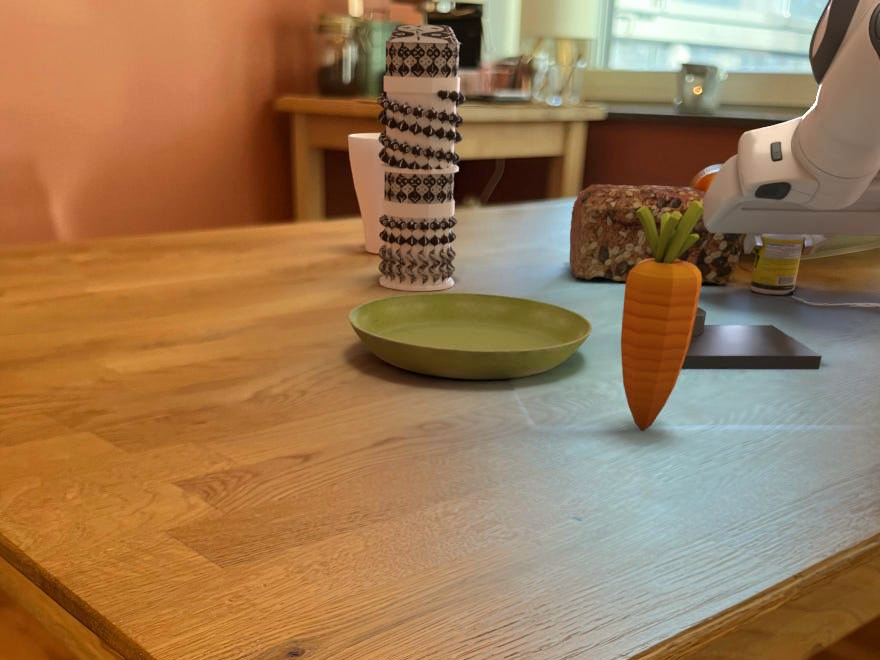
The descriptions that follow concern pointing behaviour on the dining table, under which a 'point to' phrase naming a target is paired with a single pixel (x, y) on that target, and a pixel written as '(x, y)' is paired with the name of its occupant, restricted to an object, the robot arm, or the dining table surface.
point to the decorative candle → (419, 157)
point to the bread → (641, 232)
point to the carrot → (659, 314)
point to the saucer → (469, 334)
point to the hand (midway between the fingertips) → (777, 249)
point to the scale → (745, 348)
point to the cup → (368, 185)
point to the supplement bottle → (777, 264)
